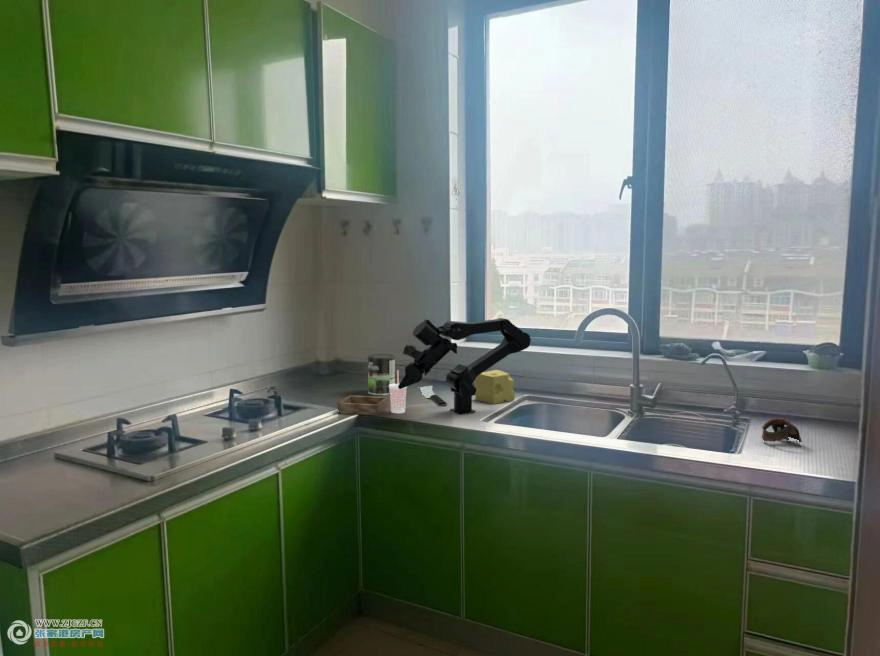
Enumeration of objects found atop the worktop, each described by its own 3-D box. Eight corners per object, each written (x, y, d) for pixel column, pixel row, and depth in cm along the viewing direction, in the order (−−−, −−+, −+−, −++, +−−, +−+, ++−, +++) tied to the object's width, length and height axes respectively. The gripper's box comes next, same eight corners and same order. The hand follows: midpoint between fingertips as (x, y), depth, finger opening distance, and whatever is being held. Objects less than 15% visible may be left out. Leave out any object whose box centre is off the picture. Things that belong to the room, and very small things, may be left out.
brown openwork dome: (809, 452, 172) (798, 427, 170) (773, 463, 175) (762, 439, 174) (795, 429, 183) (785, 406, 181) (762, 440, 186) (751, 417, 184)
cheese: (514, 400, 230) (515, 373, 228) (492, 404, 223) (492, 376, 222) (495, 395, 238) (495, 369, 237) (473, 399, 231) (473, 372, 230)
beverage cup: (397, 408, 217) (397, 367, 215) (411, 411, 213) (411, 369, 211) (385, 411, 212) (384, 370, 210) (398, 414, 208) (398, 372, 207)
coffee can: (378, 396, 235) (378, 358, 233) (362, 392, 242) (362, 355, 241) (400, 393, 241) (400, 356, 240) (384, 388, 249) (384, 352, 247)
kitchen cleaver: (406, 387, 249) (431, 383, 251) (406, 391, 249) (431, 387, 251) (422, 405, 219) (450, 401, 221) (423, 410, 219) (451, 406, 221)
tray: (388, 406, 219) (388, 397, 219) (378, 415, 207) (378, 405, 207) (349, 404, 222) (349, 395, 222) (337, 412, 210) (337, 403, 210)
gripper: (423, 332, 217) (392, 362, 220) (411, 338, 199) (377, 372, 202) (446, 355, 216) (414, 386, 220) (436, 364, 198) (401, 398, 201)
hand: (402, 385), depth 211 cm, fingers open, 9 cm apart
